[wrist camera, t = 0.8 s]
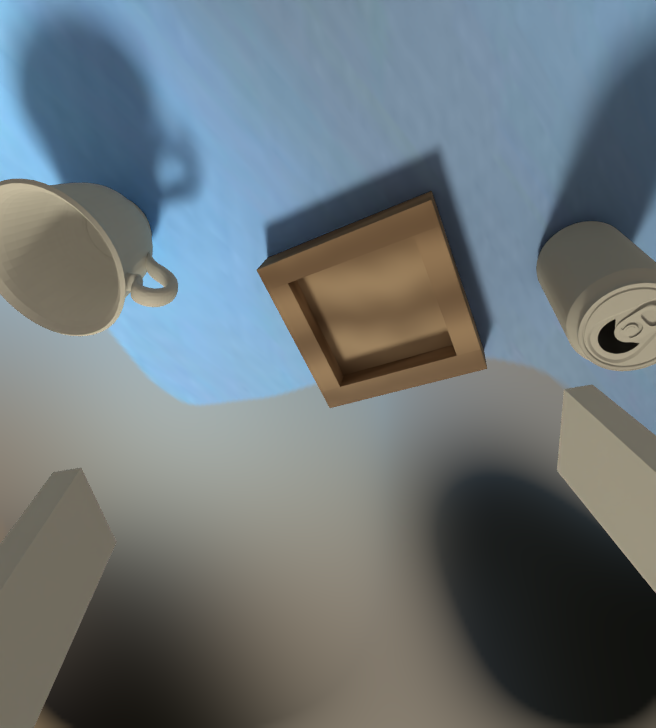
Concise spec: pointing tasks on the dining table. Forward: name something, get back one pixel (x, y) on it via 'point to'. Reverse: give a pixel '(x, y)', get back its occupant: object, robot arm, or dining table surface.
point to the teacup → (75, 255)
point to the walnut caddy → (377, 304)
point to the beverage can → (602, 294)
